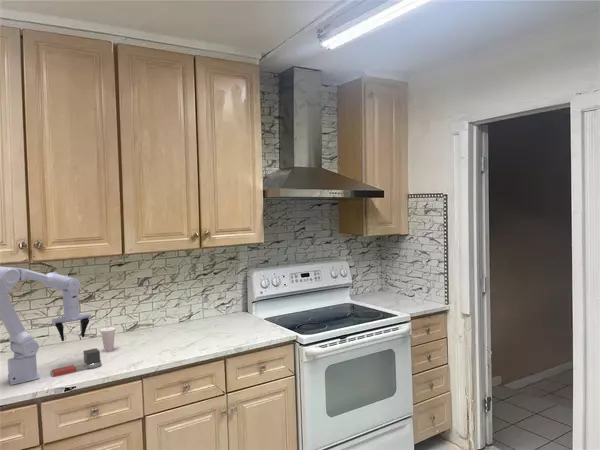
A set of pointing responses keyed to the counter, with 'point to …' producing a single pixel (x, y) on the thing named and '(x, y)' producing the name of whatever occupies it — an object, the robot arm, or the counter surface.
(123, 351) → the counter surface
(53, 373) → the ratchet
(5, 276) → the robot arm
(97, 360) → the charcoal grey cube
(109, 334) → the smoothie
